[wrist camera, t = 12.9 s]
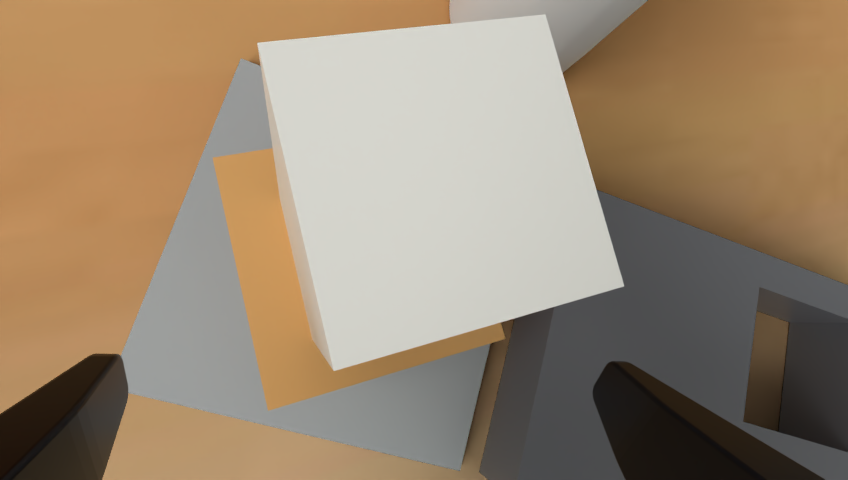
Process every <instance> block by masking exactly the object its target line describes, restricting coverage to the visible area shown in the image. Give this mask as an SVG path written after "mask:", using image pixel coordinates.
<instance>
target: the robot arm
mask: <svg viewBox="0 0 848 480" xmlns="http://www.w3.org/2000/svg"><path fill="white" fill-rule="evenodd" d="M592 394H593V400H594V403H595V406H596V408H597V411H598V414H599V416H600V419H601V422H602V424H603V427H604V430H605V432H606V435H607V437H608V440H609V443H610V445H611V448H612V451H613V453H614V456H615V458H616V461H617V463H618V465H619V468H620V470H621V472H622V474H623V476H624V478H625V480H825V479H824V478H822V477H821V476H819V475H817V474H816V473H814V472H812V471H811V470H809V469H807V468H806V467H804V466H802V465H801V464H799V463H797V462H795V461H794V460H792V459H790V458H789V457H787V456H785V455H784V454H782V453H780V452H779V451H777V450H775V449H774V448H772V447H770V446H769V445H767V444H765V443H764V442H762V441H760V440H759V439H757V438H755V437H754V436H752V435H750V434H749V433H747V432H745V431H744V430H742V429H740V428H739V427H737V426H735V425H734V424H732V423H730V422H729V421H727V420H725V419H724V418H722V417H720V416H718V415H717V414H715V413H713V412H712V411H710V410H708V409H707V408H705V407H703V406H702V405H700V404H698V403H697V402H695V401H693V400H692V399H690V398H688V397H687V396H685V395H683V394H682V393H680V392H678V391H677V390H675V389H673V388H672V387H670V386H668V385H667V384H665V383H663V382H662V381H660V380H658V379H657V378H655V377H653V376H652V375H650V374H648V373H647V372H645V371H643V370H642V369H640V368H638V367H636V366H635V365H633V364H631V363H629V362H626V361H611V362H609V363H607V364H606V366H605V367H604V369H603V371H602V372H601V374H600V376H599V377H598V379H597V381H596V382H595V384H594V386H593V393H592ZM127 399H128V382H127V378H126V373H125V368H124V363H123V359H122V357H121V356H120V355H118V354H92V355H90V356H88V357H87V358H85V359H84V360H82V361H81V362H79V363H77V364H76V365H74V366H73V367H71V368H70V369H68V370H67V371H65V372H64V373H62V374H61V375H59V376H58V377H56V378H55V379H53V380H51V381H50V382H48V383H47V384H45V385H44V386H42V387H41V388H39V389H38V390H36V391H35V392H33V393H32V394H30V395H29V396H27V397H25V398H24V399H22V400H21V401H19V402H18V403H16V404H15V405H13V406H12V407H10V408H9V409H7V410H6V411H4V412H3V413H1V414H0V480H102V478H103V475H104V472H105V469H106V466H107V463H108V460H109V456H110V453H111V450H112V447H113V444H114V441H115V438H116V434H117V431H118V428H119V425H120V422H121V419H122V416H123V413H124V409H125V406H126V403H127Z"/></svg>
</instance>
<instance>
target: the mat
mask: <svg viewBox="0 0 848 480" xmlns="http://www.w3.org/2000/svg"><path fill="white" fill-rule="evenodd" d="M270 148H272V141H271V134H270V127H269V120H268V113H267V106H266V99H265V92H264V85H263V78H262V72H261V66H259V65H257V64H254V63H251V62H249V61H246V60H244V59H241V60H240V62H239V65H238V67H237V70H236V72H235V75H234V77H233V80H232V82H231V85H230V87H229V89H228V92H227V94H226V97H225V99H224V102H223V104H222V107H221V109H220V112H219V114H218V117H217V119H216V122H215V124H214V127H213V129H212V132H211V134H210V137H209V139H208V142H207V144H206V146H205V149H204V151H203V154H202V156H201V159H200V161H199V164H198V166H197V169H196V171H195V174H194V176H193V179H192V181H191V184H190V186H189V189H188V191H187V194H186V196H185V198H184V201H183V203H182V206H181V208H180V211H179V213H178V216H177V218H176V221H175V223H174V226H173V228H172V231H171V233H170V236H169V238H168V241H167V243H166V246H165V248H164V250H163V253H162V255H161V258H160V260H159V263H158V265H157V268H156V270H155V273H154V275H153V278H152V280H151V283H150V285H149V288H148V290H147V293H146V295H145V298H144V300H143V303H142V305H141V307H140V310H139V312H138V315H137V317H136V320H135V322H134V325H133V327H132V330H131V332H130V335H129V337H128V340H127V342H126V345H125V347H124V350H123V352H122V355H121V357H122V359H123V363H124V368H125V373H126V378H127V382H128V393H131V394H135V395H139V396H144V397H148V398H152V399H156V400H161V401H165V402H169V403H173V404H178V405H182V406H186V407H190V408H195V409H199V410H203V411H207V412H212V413H216V414H220V415H224V416H229V417H233V418H237V419H241V420H245V421H250V422H254V423H258V424H262V425H267V426H271V427H275V428H279V429H284V430H288V431H292V432H296V433H301V434H305V435H309V436H313V437H318V438H322V439H326V440H330V441H335V442H339V443H343V444H347V445H352V446H356V447H360V448H364V449H368V450H373V451H377V452H381V453H385V454H390V455H394V456H398V457H402V458H407V459H411V460H415V461H419V462H424V463H428V464H432V465H436V466H441V467H445V468H449V469H453V470H458V471H460V469H461V464H462V460H463V456H464V452H465V448H466V444H467V439H468V435H469V431H470V427H471V423H472V418H473V414H474V410H475V406H476V402H477V398H478V393H479V389H480V385H481V381H482V377H483V373H484V368H485V364H486V360H487V356H488V352H489V347H490V344H487V345H484V346H480V347H477V348H474V349H470V350H467V351H464V352H460V353H457V354H454V355H451V356H447V357H444V358H441V359H437V360H434V361H431V362H428V363H424V364H421V365H418V366H414V367H411V368H408V369H404V370H401V371H398V372H395V373H391V374H388V375H385V376H381V377H378V378H375V379H371V380H368V381H365V382H362V383H358V384H355V385H352V386H348V387H345V388H342V389H338V390H335V391H332V392H329V393H325V394H322V395H319V396H315V397H312V398H309V399H306V400H302V401H299V402H296V403H292V404H289V405H286V406H282V407H279V408H276V409H273V410H269V411H268V409H267V404H266V400H265V395H264V390H263V386H262V381H261V377H260V372H259V368H258V363H257V359H256V354H255V349H254V345H253V340H252V336H251V331H250V327H249V322H248V318H247V313H246V308H245V304H244V299H243V295H242V290H241V286H240V281H239V277H238V272H237V267H236V263H235V258H234V254H233V249H232V245H231V240H230V235H229V231H228V226H227V222H226V217H225V213H224V208H223V204H222V199H221V194H220V190H219V185H218V181H217V176H216V172H215V167H214V163H213V157H220V156H226V155H232V154H239V153H245V152H251V151H258V150H264V149H270Z"/></svg>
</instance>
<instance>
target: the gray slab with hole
mask: <svg viewBox="0 0 848 480" xmlns="http://www.w3.org/2000/svg"><path fill="white" fill-rule="evenodd" d="M597 194H598V197H599V201H600V204H601V208H602V211H603V214H604V218H605V221H606V225H607V228H608V232H609V235H610V239H611V242H612V245H613V249H614V252H615V256H616V259H617V263H618V266H619V270H620V273H621V276H622V280H623V283H624V287H620V288H617V289H613V290H610V291H607V292H603V293H600V294H596V295H593V296H589V297H586V298H583V299H579V300H576V301H572V302H569V303H565V304H562V305H559V306H555V307H552V308H548V309H545V310H542V311H538V312H535V313H531V314H528V315H524V316H521V317H518V318H515V319H514V324H513V328H512V332H511V337H510V341H509V345H508V350H507V354H506V358H505V363H504V367H503V371H502V375H501V380H500V384H499V388H498V393H497V397H496V401H495V406H494V410H493V414H492V419H491V423H490V427H489V432H488V436H487V440H486V445H485V449H484V453H483V458H482V462H481V466H480V471H479V472H480V473H481V474H482V475H483V476H484V477H486V478H487V479H488V480H625V478H624V476H623V474H622V472H621V470H620V468H619V465H618V463H617V461H616V458H615V456H614V453H613V451H612V448H611V445H610V443H609V440H608V437H607V435H606V432H605V430H604V427H603V424H602V422H601V419H600V416H599V414H598V411H597V408H596V406H595V403H594V400H593V394H592V393H593V386H594V384H595V382H596V381H597V379H598V377H599V376H600V374H601V372H602V371H603V369H604V367H605V366H606V364H607V363H609V362H611V361H626V362H629V363H631V364H633V365H635V366H636V367H638V368H640V369H642V370H643V371H645V372H647V373H648V374H650V375H652V376H653V377H655V378H657V379H658V380H660V381H662V382H663V383H665V384H667V385H668V386H670V387H672V388H673V389H675V390H677V391H678V392H680V393H682V394H683V395H685V396H687V397H688V398H690V399H692V400H693V401H695V402H697V403H698V404H700V405H702V406H703V407H705V408H707V409H708V410H710V411H712V412H713V413H715V414H717V415H718V416H720V417H722V418H724V419H725V420H727V421H729V422H730V423H732V424H734V425H735V426H737V427H739V428H740V429H742V430H744V431H745V432H747V433H749V434H750V435H752V436H754V437H755V438H757V439H759V440H760V441H762V442H764V443H765V444H767V445H769V446H770V447H772V448H774V449H775V450H777V451H779V452H780V453H782V454H784V455H785V456H787V457H789V458H790V459H792V460H794V461H795V462H797V463H799V464H801V465H802V466H804V467H806V468H807V469H809V470H811V471H812V472H814V473H816V474H817V475H819V476H821V477H822V478H824V479H825V480H848V285H846V284H843V283H841V282H838V281H835V280H833V279H830V278H828V277H825V276H822V275H820V274H817V273H814V272H812V271H809V270H807V269H804V268H801V267H799V266H796V265H793V264H791V263H788V262H785V261H783V260H780V259H778V258H775V257H772V256H770V255H767V254H764V253H762V252H759V251H757V250H754V249H751V248H749V247H746V246H743V245H741V244H738V243H735V242H733V241H730V240H728V239H725V238H722V237H720V236H717V235H714V234H712V233H709V232H707V231H704V230H701V229H699V228H696V227H693V226H691V225H688V224H685V223H683V222H680V221H678V220H675V219H672V218H670V217H667V216H664V215H662V214H659V213H657V212H654V211H651V210H649V209H646V208H643V207H641V206H638V205H635V204H633V203H630V202H628V201H625V200H622V199H620V198H617V197H614V196H612V195H609V194H607V193H604V192H601V191H599V190H597ZM756 311H759V312H762V313H764V314H767V315H770V316H773V317H776V318H779V319H782V320H784V321H787V322H790V325H789V335H788V344H787V354H786V363H785V373H784V382H783V392H782V401H781V410H780V420H779V429H778V432H777V431H773V430H770V429H766V428H763V427H760V426H756V425H753V424H749V423H746V422H743V419H744V410H745V402H746V394H747V386H748V377H749V369H750V361H751V353H752V344H753V336H754V328H755V320H756Z"/></svg>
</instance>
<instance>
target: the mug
mask: <svg viewBox="0 0 848 480" xmlns="http://www.w3.org/2000/svg"><path fill="white" fill-rule="evenodd" d="M646 1H648V0H450V6H449V12H450V21H451V24H453V23H463V22H473V21H483V20H493V19H504V18H514V17H524V16H534V15H544V14H545V15H546V18H547V21H548V25H549V28H550V32H551V35H552V39H553V42H554V46H555V49H556V52H557V56H558V59H559V63H560V66H561V70H562V73H563V72H564V71H566V70H567V69H568V68H569V67H570V66H572V65H573V64H574V63H575V62H577V61H578V60H579V59H580V58H582V57H583V56H584V55H585V54H586V53H588V52H589V51H590V50H591V49H592V48H593V47H595V46H596V45H597V44H598V43H599V42H600V41H601V40H603V39H604V38H605V37H606V36H607V35H608V34H609V33H611V32H612V31H613V30H614V29H615V28H616V27H618V26H619V25H620V24H621V23H622V22H623V21H624V20H626V19H627V18H628V17H629V16H630V15H631V14H632V13H634V12H635V11H636V10H637V9H638V8H639V7H641V6H642V5H643V4H644V3H645V2H646Z"/></svg>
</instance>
